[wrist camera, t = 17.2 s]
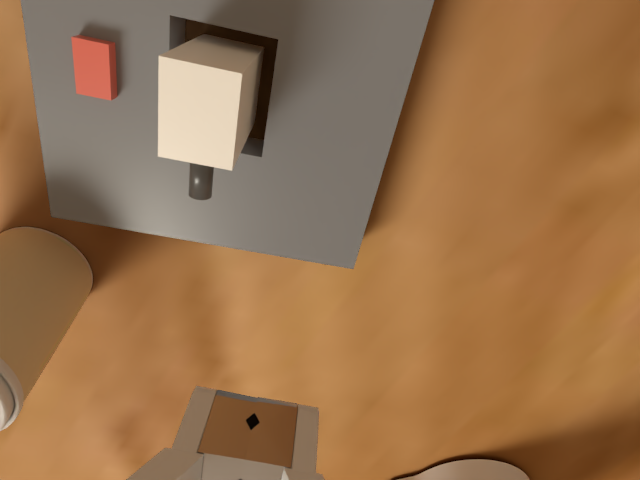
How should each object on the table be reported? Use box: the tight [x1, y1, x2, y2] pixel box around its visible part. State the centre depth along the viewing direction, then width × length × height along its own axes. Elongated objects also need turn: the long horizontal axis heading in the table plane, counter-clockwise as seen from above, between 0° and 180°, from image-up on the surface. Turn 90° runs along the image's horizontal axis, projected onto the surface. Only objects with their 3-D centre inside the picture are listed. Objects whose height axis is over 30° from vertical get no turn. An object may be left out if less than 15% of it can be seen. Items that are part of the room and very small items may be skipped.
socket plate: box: [21, 0, 434, 269], centre depth 24 cm, size 20×20×4 cm
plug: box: [158, 34, 264, 200], centre depth 23 cm, size 7×4×8 cm, turn 168°
